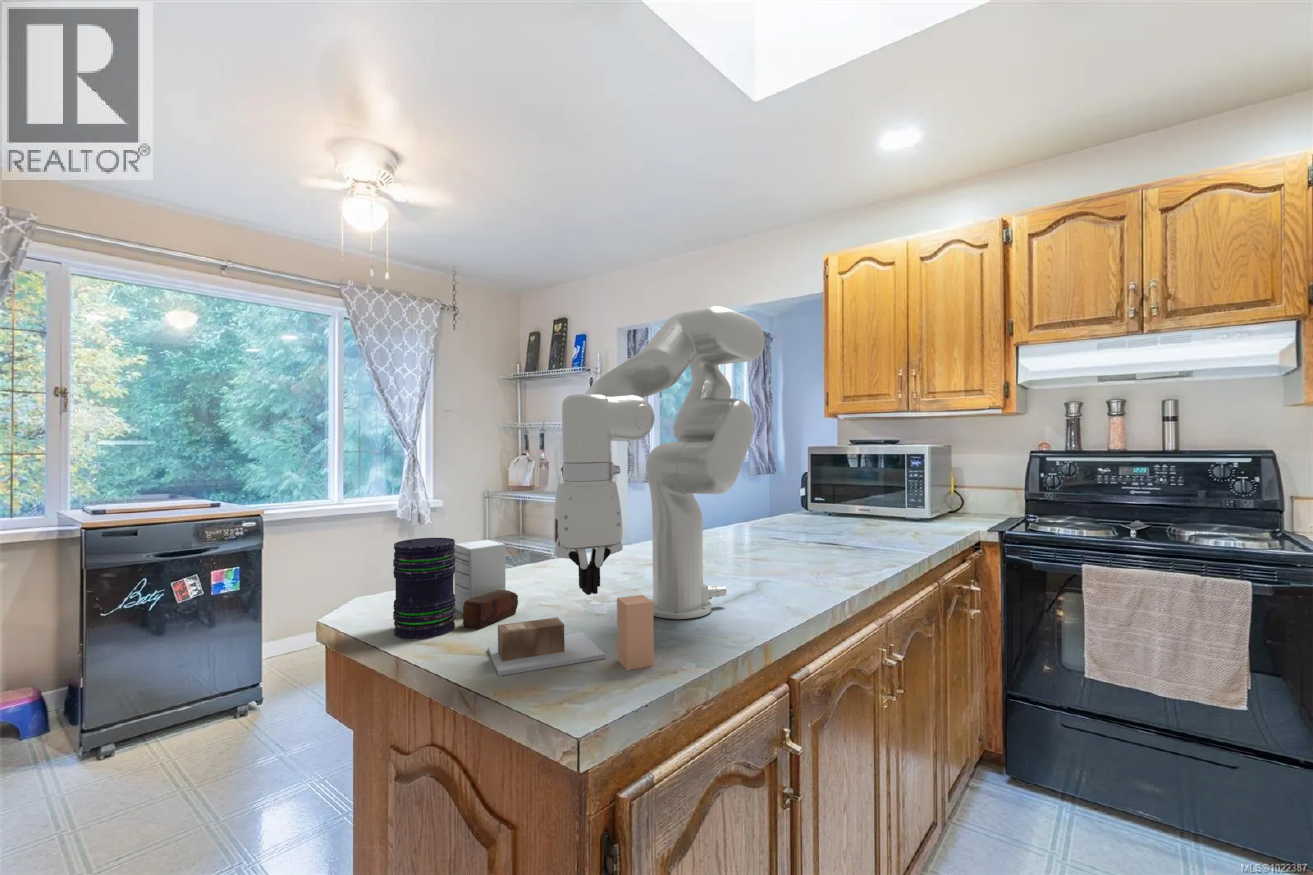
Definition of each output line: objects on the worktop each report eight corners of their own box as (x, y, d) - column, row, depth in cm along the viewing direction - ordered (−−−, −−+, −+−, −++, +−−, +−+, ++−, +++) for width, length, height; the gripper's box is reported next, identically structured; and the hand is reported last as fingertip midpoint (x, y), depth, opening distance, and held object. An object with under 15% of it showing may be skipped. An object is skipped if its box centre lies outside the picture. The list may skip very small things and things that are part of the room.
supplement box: (489, 602, 115) (488, 538, 115) (506, 609, 109) (506, 543, 109) (453, 609, 110) (452, 543, 110) (469, 617, 104) (469, 548, 104)
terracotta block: (643, 656, 84) (642, 594, 84) (653, 665, 81) (653, 601, 81) (617, 660, 83) (616, 598, 83) (627, 670, 79) (626, 604, 79)
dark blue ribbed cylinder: (467, 623, 101) (466, 538, 101) (433, 641, 91) (433, 548, 92) (417, 619, 103) (417, 536, 103) (379, 637, 94) (379, 546, 94)
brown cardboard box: (557, 617, 88) (497, 624, 85) (564, 624, 85) (502, 632, 81) (557, 643, 88) (497, 652, 85) (564, 651, 85) (502, 661, 81)
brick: (480, 630, 97) (480, 603, 97) (462, 628, 99) (462, 600, 99) (518, 614, 107) (518, 588, 107) (501, 611, 108) (501, 587, 108)
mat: (582, 635, 93) (582, 632, 93) (604, 658, 83) (604, 654, 83) (488, 649, 87) (487, 645, 87) (498, 675, 77) (498, 671, 77)
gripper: (624, 471, 95) (626, 581, 95) (534, 474, 89) (536, 592, 89) (641, 473, 88) (643, 592, 88) (545, 477, 82) (547, 605, 82)
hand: (589, 592), depth 89 cm, fingers closed
